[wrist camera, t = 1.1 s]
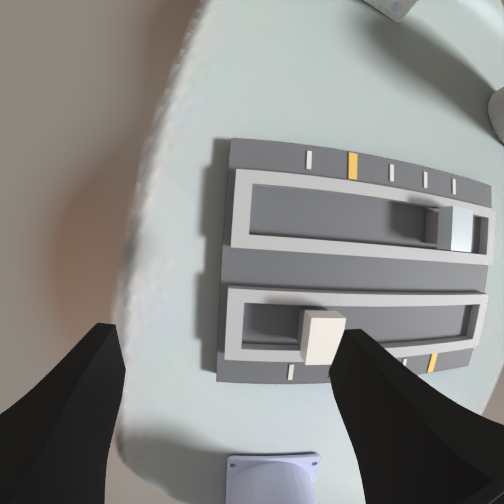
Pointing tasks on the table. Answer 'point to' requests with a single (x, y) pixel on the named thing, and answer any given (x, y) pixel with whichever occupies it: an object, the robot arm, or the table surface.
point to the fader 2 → (450, 228)
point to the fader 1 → (319, 335)
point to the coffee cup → (497, 113)
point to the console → (345, 259)
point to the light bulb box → (393, 7)
